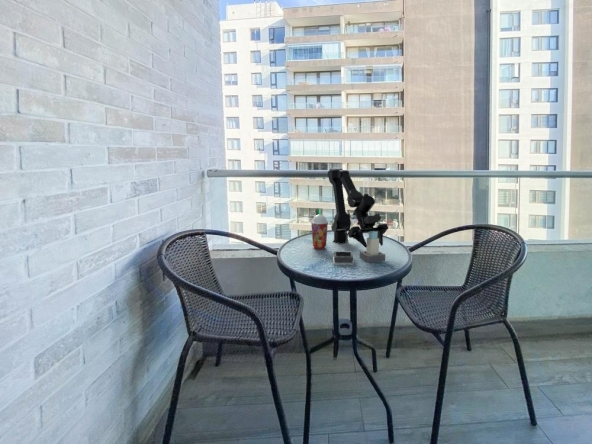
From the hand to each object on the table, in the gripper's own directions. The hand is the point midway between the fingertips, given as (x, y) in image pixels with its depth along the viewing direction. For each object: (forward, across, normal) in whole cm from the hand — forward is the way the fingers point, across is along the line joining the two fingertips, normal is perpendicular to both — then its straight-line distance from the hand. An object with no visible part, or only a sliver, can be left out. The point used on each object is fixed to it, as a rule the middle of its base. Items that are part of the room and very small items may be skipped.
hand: (374, 246), depth 185 cm
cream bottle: (+4, 0, +6) cm, 7 cm away
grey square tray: (+4, 0, +6) cm, 7 cm away
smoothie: (-15, -15, +24) cm, 32 cm away
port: (+2, -14, +7) cm, 16 cm away
